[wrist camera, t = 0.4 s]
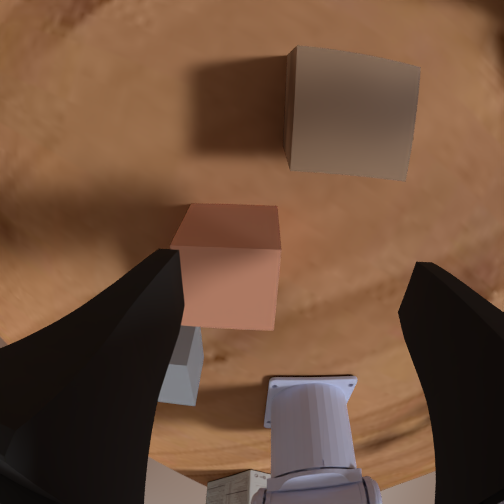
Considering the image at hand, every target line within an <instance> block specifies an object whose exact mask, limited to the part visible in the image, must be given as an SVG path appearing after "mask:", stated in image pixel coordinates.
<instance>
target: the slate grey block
mask: <svg viewBox="0 0 504 504" xmlns="http://www.w3.org/2000/svg"><path fill="white" fill-rule="evenodd" d="M203 359H204V355H203V347H202V338H201V329H200V327H195V326H183V325H181V327H180V332H179V336H178V339H177V342H176V345H175V348H174V351H173V354H172V357H171V360H170V363H169V366H168V369H167V372H166V375H165V378H164V381H163V385H162V388H161V391H160V394H159V398H158V402H165V403H173V404H181V405H189V406H195V404H196V399H197V393H198V387H199V382H200V376H201V370H202V365H203Z"/></svg>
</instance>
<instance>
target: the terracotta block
mask: <svg viewBox="0 0 504 504" xmlns="http://www.w3.org/2000/svg"><path fill="white" fill-rule="evenodd" d="M170 249H174V250H179V253H180V263H181V274H182V283H183V293H184V302H185V307H184V312H183V317H182V322H181V325H183V326H195V327H210V328H226V329H245V330H271V331H274V322H275V313H276V302H277V292H278V281H279V270H280V259H281V241H280V230H279V219H278V209H277V206H264V205H237V204H197V203H191V205H190V207H189V209H188V211H187V213H186V215H185V217H184V219H183V220H182V222H181V224H180V226H179V228H178V230H177V232H176V234H175V236H174V238H173V240H172V242H171V244H170Z"/></svg>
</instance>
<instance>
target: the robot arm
mask: <svg viewBox="0 0 504 504" xmlns="http://www.w3.org/2000/svg"><path fill="white" fill-rule="evenodd" d="M184 307H185V302H184V293H183V283H182V274H181V263H180V253H179V250H174V249H158V250H157V251H155V252H154V253H152V254H151V255H150V256H148V257H147V258H146V259H144V260H143V261H142V262H141V263H139V264H138V265H137V266H135V267H134V268H133V269H132V270H130V271H129V272H128V273H126V274H125V275H124V276H123V277H121V278H120V279H119V280H117V281H116V282H115V283H113V284H112V285H111V286H109V287H108V288H106V289H105V290H104V291H102V292H101V293H99V294H98V295H97V296H95V297H94V298H93V299H91V300H90V301H88V302H87V303H85V304H84V305H82V306H81V307H79V308H78V309H76V310H75V311H73V312H71V313H70V314H68V315H66V316H65V317H63V318H61V319H60V320H58V321H56V322H54V323H53V324H51V325H49V326H47V327H45V328H43V329H41V330H39V331H37V332H35V333H33V334H31V335H29V336H27V337H25V338H23V339H21V340H19V341H17V342H14V343H12V344H10V345H7V346H5V347H2V348H0V504H144V492H145V481H146V471H147V461H148V454H149V447H150V440H151V433H152V427H153V422H154V416H155V411H156V406H157V402H158V398H159V394H160V391H161V388H162V385H163V381H164V378H165V375H166V372H167V369H168V366H169V363H170V360H171V357H172V354H173V351H174V348H175V345H176V342H177V339H178V336H179V332H180V327H181V322H182V317H183V312H184ZM398 314H399V319H400V323H401V328H402V332H403V335H404V339H405V342H406V345H407V347H408V350H409V353H410V355H411V358H412V361H413V364H414V366H415V369H416V372H417V374H418V377H419V380H420V383H421V386H422V388H423V391H424V394H425V398H426V401H427V405H428V410H429V415H430V420H431V426H432V433H433V441H434V450H435V467H436V490H435V504H504V312H502V311H501V310H500V309H498V308H497V307H495V306H494V305H493V304H491V303H490V302H488V301H487V300H486V299H484V298H483V297H482V296H480V295H479V294H478V293H476V292H475V291H474V290H472V289H471V288H470V287H468V286H467V285H466V284H464V283H463V282H462V281H460V280H459V279H457V278H456V277H455V276H453V275H452V274H450V273H449V272H447V271H446V270H444V269H443V268H441V267H439V266H438V265H436V264H434V263H432V262H416V264H415V267H414V270H413V273H412V276H411V279H410V281H409V284H408V287H407V290H406V292H405V295H404V298H403V300H402V303H401V306H400V308H399V311H398ZM356 383H357V377H355V376H339V377H273V378H271V379H270V380H269V387H268V395H267V403H266V411H265V419H264V427H265V428H271V478H268V479H267V488H259V489H258V491H257V492H256V493H255V494H254V495H253V497H252V499H251V504H382V497H381V493H380V489H379V486H378V484H377V482H376V481H374V480H373V479H371V477H369V476H365V477H362V473H361V468H357V469H356V462H355V455H354V448H353V442H352V435H351V429H350V423H349V417H348V411H347V405H346V404H347V402H348V400H349V398H350V396H351V394H352V392H353V389H354V387H355V385H356Z"/></svg>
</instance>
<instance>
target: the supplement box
mask: <svg viewBox="0 0 504 504" xmlns="http://www.w3.org/2000/svg"><path fill="white" fill-rule="evenodd" d="M268 478H271V474H267V473H263V472H258V471H254V470H248V471H245V472H242V473H239V474H236V475H233V476H230V477H226V478H223V479H219V480H215V481H212V482H208V486H207V496H206V504H251V499H252V497H253V495H254V494H255V493H256V492H257V491H258V489H259V488H267V479H268Z"/></svg>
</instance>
